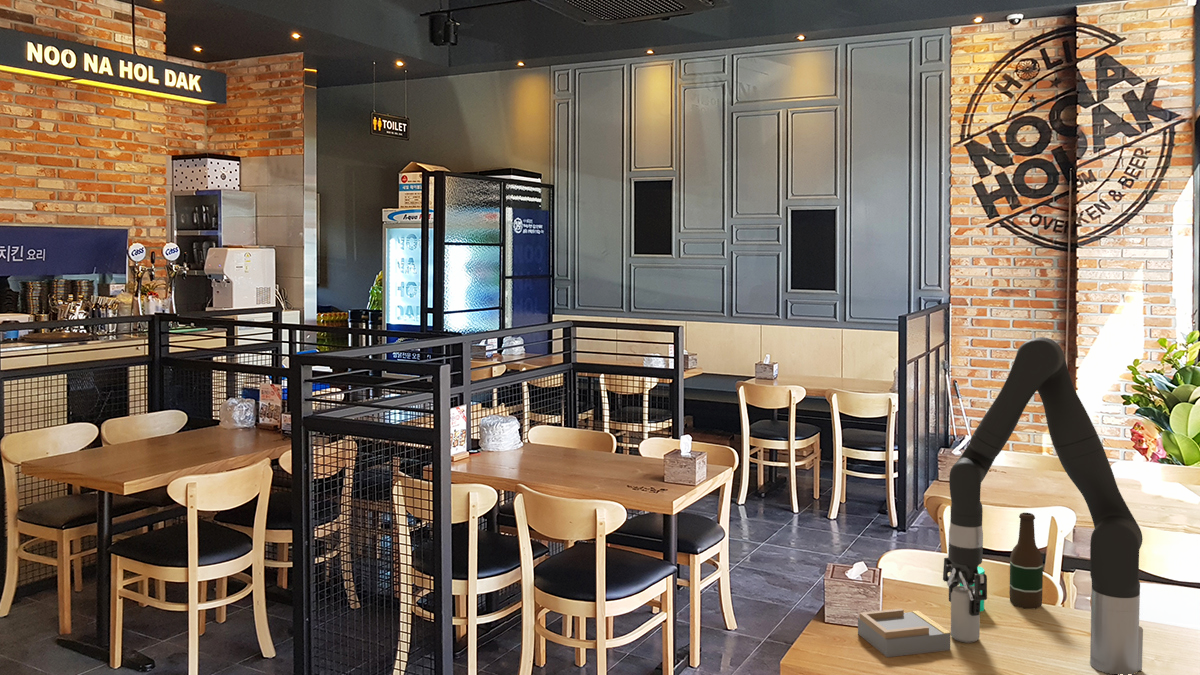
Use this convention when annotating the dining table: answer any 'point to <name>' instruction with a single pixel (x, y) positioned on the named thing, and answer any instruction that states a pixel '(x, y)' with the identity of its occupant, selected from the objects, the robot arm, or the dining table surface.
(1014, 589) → the beer bottle
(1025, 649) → the dining table surface
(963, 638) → the beverage can
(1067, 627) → the dining table surface
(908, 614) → the dock
